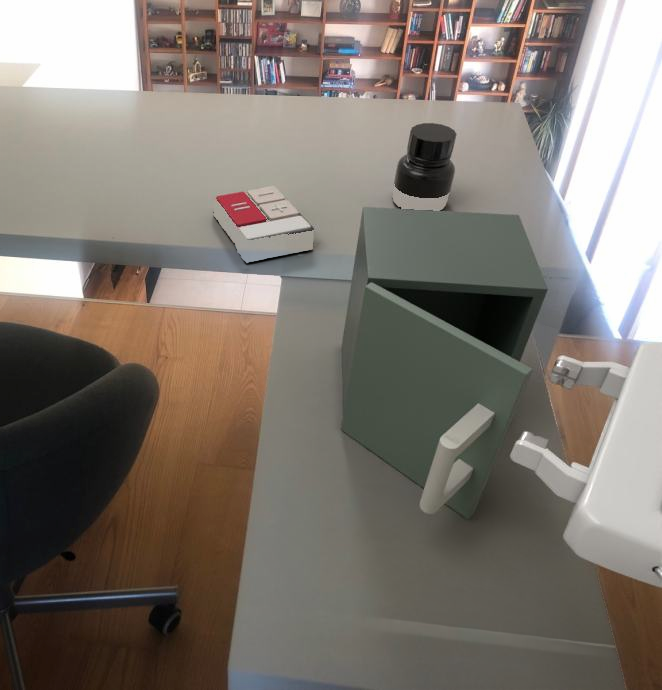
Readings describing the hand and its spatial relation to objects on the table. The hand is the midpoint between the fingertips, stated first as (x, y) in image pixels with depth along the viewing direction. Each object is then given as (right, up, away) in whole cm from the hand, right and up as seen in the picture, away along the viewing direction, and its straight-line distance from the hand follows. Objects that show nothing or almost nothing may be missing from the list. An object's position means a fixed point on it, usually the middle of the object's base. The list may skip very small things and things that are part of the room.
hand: (535, 403), depth 50 cm
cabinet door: (-5, -10, +21) cm, 24 cm away
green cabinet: (0, -1, +31) cm, 31 cm away
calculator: (-15, +22, +58) cm, 63 cm away
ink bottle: (+11, +28, +64) cm, 70 cm away
